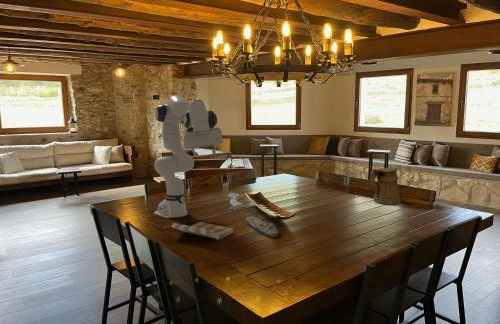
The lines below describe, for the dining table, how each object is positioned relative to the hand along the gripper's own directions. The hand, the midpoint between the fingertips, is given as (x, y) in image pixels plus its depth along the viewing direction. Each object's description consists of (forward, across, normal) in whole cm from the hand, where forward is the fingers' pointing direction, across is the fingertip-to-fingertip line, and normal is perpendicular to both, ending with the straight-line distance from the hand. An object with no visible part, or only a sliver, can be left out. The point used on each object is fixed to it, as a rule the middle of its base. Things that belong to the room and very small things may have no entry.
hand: (205, 155), depth 197 cm
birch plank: (+37, +10, -21) cm, 44 cm away
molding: (+19, -26, -88) cm, 94 cm away
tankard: (+39, -131, -63) cm, 150 cm away
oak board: (+38, +1, -30) cm, 49 cm away
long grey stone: (+42, -29, -30) cm, 59 cm away
